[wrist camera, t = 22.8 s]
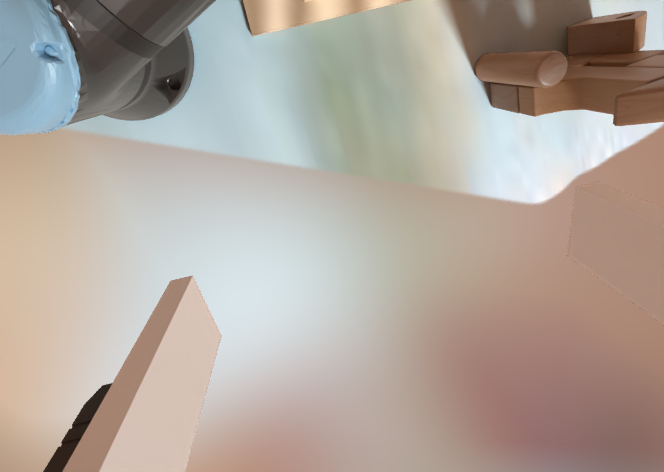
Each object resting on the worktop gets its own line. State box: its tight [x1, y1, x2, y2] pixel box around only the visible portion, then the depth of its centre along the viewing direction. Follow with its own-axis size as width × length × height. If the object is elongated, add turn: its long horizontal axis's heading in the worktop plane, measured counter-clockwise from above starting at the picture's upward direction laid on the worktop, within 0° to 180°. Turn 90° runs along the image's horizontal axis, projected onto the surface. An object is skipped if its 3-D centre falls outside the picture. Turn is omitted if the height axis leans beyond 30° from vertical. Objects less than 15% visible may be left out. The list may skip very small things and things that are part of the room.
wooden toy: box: [475, 11, 664, 126], centre depth 33 cm, size 15×7×25 cm, turn 108°
